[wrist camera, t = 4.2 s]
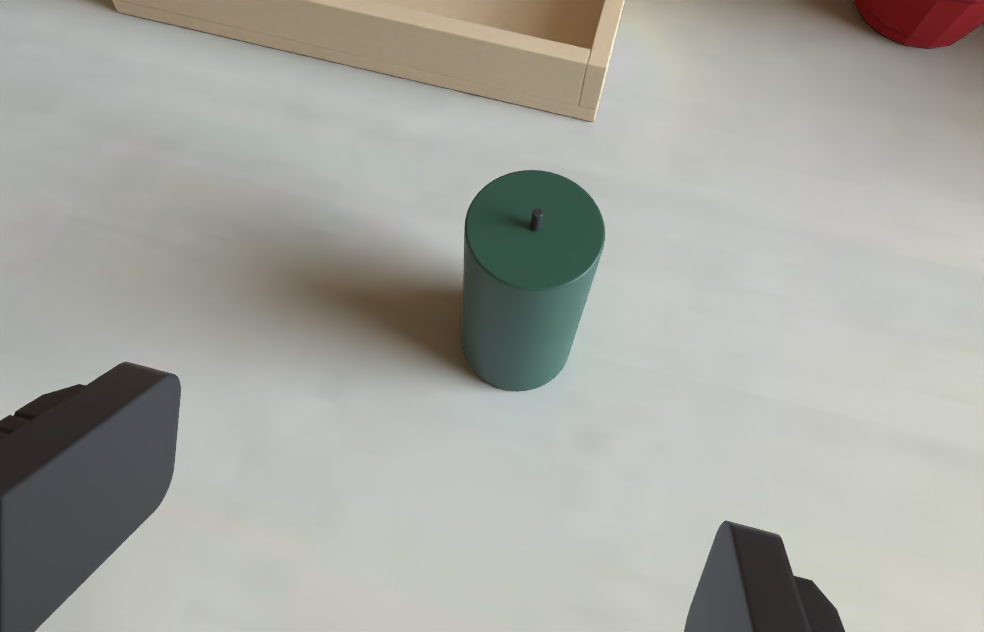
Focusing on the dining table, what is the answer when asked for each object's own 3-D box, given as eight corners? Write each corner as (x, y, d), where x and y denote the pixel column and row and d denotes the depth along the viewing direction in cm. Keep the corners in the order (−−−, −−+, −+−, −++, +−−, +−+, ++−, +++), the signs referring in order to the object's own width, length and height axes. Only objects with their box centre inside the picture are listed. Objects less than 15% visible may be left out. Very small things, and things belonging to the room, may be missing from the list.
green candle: (449, 376, 30) (448, 256, 22) (477, 281, 32) (485, 138, 24) (557, 403, 30) (594, 292, 22) (579, 307, 31) (622, 170, 24)
